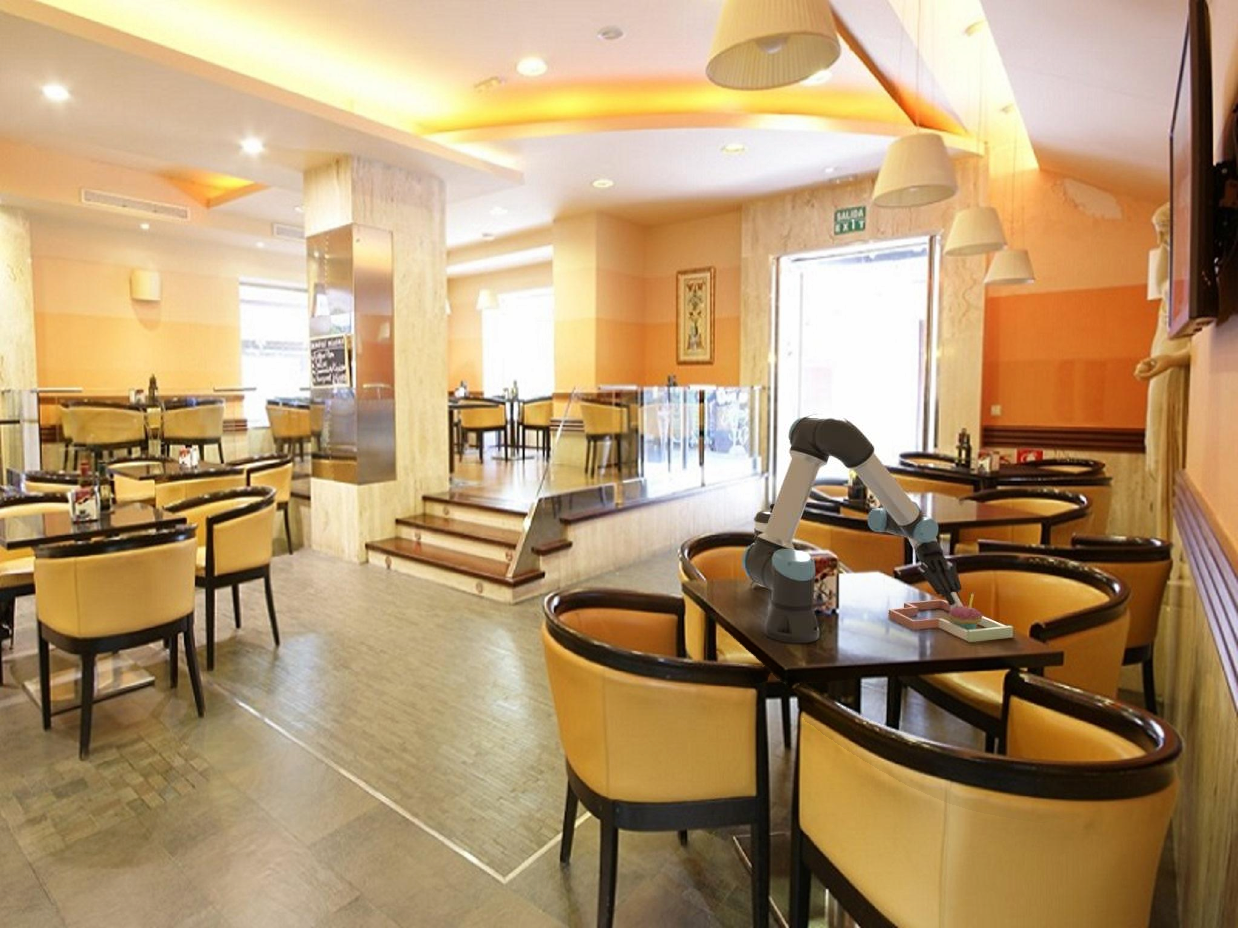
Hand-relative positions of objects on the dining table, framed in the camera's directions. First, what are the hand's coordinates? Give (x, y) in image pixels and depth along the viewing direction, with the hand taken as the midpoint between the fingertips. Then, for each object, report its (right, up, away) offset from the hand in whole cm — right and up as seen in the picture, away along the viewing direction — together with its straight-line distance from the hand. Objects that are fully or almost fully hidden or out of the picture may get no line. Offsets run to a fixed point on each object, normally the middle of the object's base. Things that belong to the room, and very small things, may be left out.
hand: (961, 613), depth 204 cm
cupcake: (-1, -4, -4) cm, 6 cm away
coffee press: (-48, 0, +37) cm, 61 cm away
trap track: (-5, -3, +2) cm, 6 cm away
